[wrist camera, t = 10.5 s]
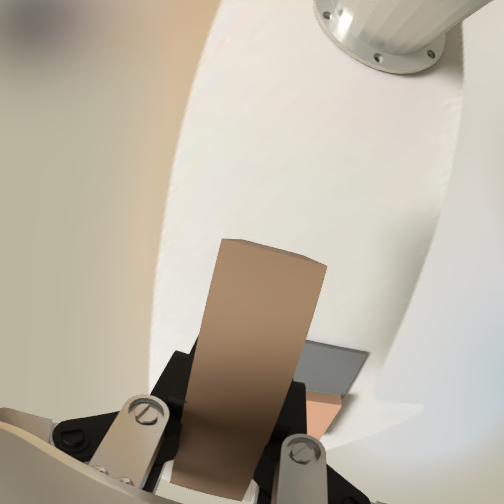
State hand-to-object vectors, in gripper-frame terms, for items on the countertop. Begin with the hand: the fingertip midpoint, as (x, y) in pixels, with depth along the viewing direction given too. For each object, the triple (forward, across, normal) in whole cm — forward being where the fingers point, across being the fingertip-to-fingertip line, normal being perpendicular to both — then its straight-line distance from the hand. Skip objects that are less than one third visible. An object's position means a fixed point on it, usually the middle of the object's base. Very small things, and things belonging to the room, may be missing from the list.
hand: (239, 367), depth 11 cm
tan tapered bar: (0, 0, +2) cm, 2 cm away
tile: (+14, -8, +14) cm, 21 cm away
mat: (+15, -9, +16) cm, 23 cm away
